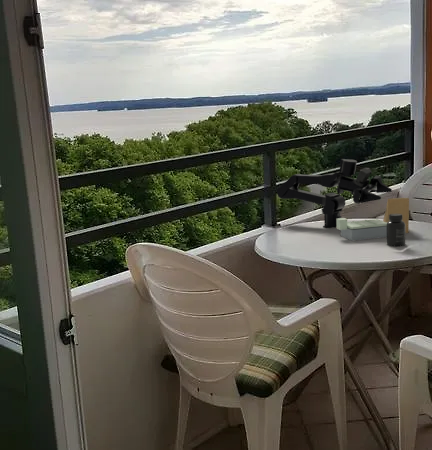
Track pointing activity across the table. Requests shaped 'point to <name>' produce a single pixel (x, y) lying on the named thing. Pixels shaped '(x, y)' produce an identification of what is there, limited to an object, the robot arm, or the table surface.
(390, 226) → the supplement bottle
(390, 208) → the sandwich container
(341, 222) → the lid
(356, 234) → the tub
